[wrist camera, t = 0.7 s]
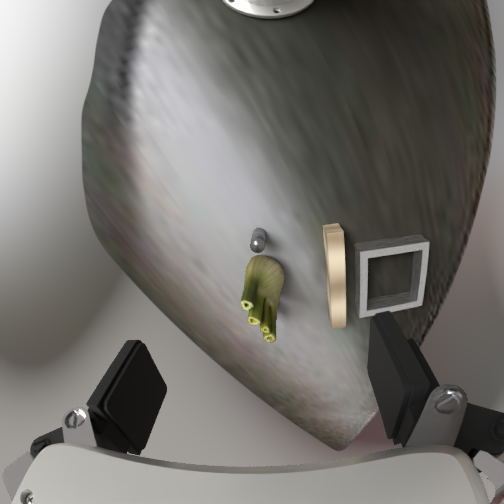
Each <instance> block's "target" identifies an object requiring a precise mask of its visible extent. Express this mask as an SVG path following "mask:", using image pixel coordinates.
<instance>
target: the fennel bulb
mask: <svg viewBox="0 0 504 504" xmlns="http://www.w3.org/2000/svg"><path fill="white" fill-rule="evenodd" d="M284 279H285V275H284V270H283V268H282V267H281V265H280V264H279V263H278V262H277V261H276V260H275V259H273V258H271V257H268V256H263V255H257V256H255V257H253V258H252V259H251V260H250V262H249V264H248V266H247V268H246V274H245V285H244V291H243V295H242V298H241V307H242V309H243V310H245V311H247V310H249V315H248V323H249V324H250V325H252V326H253V325H257V324H259V323H260V330H261V331H262V332H263V338H264V339H265V340H266V341H268V342H274V341H275V340H276V311H277V308H278V304H279V299H280V294H281V289H282V286H283V283H284Z"/></svg>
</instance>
